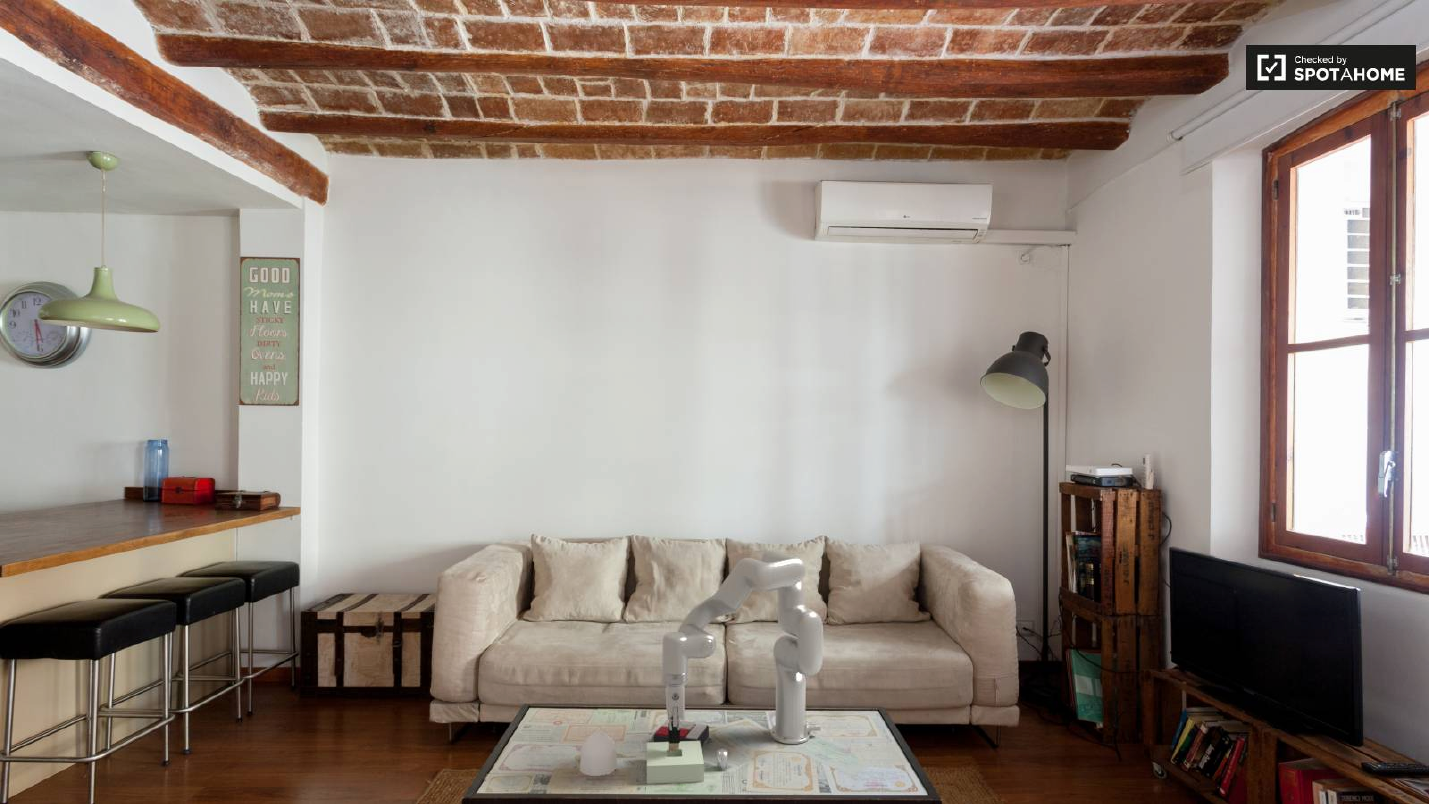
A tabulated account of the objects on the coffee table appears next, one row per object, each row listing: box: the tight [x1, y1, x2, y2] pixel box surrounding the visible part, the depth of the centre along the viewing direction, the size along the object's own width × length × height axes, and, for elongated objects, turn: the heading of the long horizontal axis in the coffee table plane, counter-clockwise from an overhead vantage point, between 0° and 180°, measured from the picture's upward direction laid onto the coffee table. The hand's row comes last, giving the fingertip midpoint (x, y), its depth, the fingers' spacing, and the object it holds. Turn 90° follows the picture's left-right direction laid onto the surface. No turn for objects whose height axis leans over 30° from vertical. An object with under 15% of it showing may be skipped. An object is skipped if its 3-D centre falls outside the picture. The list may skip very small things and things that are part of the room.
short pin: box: [716, 748, 729, 772], centre depth 213 cm, size 3×3×5 cm
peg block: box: [646, 741, 705, 785], centre depth 212 cm, size 16×14×5 cm
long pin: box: [669, 717, 679, 753], centre depth 212 cm, size 3×3×11 cm
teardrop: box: [579, 726, 618, 777], centre depth 214 cm, size 11×11×12 cm
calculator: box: [652, 719, 710, 747], centre depth 231 cm, size 11×4×15 cm
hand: (673, 739), depth 212 cm, fingers closed on long pin, 3 cm apart
